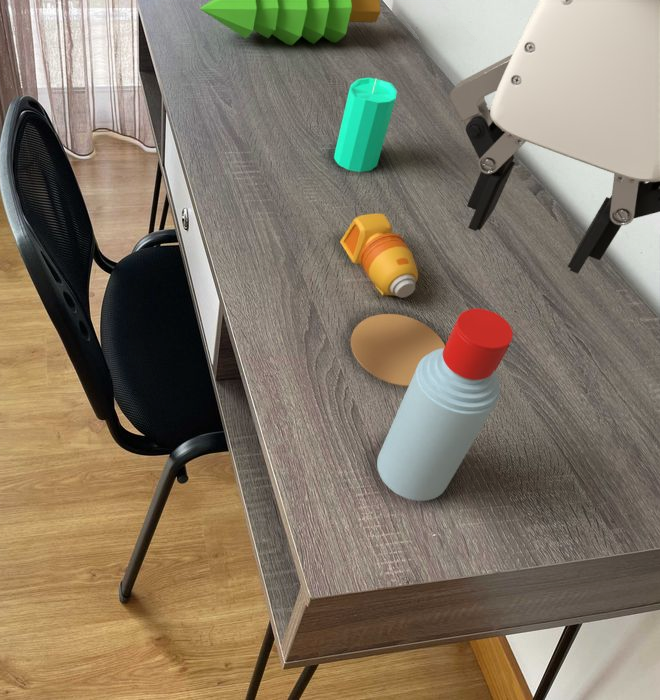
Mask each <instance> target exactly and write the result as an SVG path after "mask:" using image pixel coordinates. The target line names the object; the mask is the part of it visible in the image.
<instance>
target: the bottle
mask: <svg viewBox="0 0 660 700" xmlns="http://www.w3.org/2000/svg"><path fill="white" fill-rule="evenodd" d="M443 350H444V348H442V349H438V350H435V351H433V352H431V353H429V354H428V355H426V356H425V357H424V358H423V359H422V360H421V361H420V362H419V364H418V366H417V368H416V371H415V373H414V375H413V378H412V380H411V382H410V384H409V387H407V389H406V392H405V394H404V396H403V398H402V400H401V403H400V405H399V408H398V410H397V412H396V414H395V417H394V419H393V421H392V423H391V426H390V428H389V431H388V432H387V435H386V437H385V439H384V442H383V445H382V446H381V449H380V451H379V453H378V456H377V461H376V466H377V471H378V475H379V477H380V479H381V480H382V482H383V483H384V484H385V485H386V487H388V488H389V489H390V490H391V491H392V492H394V493H395V494H397V495H398V496H400V497H402V498H404V499H407V500H410V501H417V502H424V501H425V502H426V501H432V500H434V499H436V498H438V497H440V496H441V495H442V494H443V493H444V492H445V491H446V489H447V488H448V486H449V484H450V482H451V481H452V479H453V478H454V476H455V474H456V473H457V470H458V469H459V468H460V466H461V464H462V463H463V460H464V459H465V457H466V456H467V453H468V452H469V450H470V448H471V447H472V445H473V444H474V442H475V440H476V438H477V437H478V435H479V434H480V432H481V430H482V428H483V427H484V425H485V423H486V422H487V420H488V419H489V417H490V415H491V413H492V412H493V410H494V408H495V407H496V405H497V403H498V401H499V399H500V396H501V386H500V379H499V377H498V374H497V372H496V371H494V372H493V374H492V375H491V376H489V377H487V378H485V379H480V380H473V379H467V378H464V377H462V376H459V375H457V374H456V373H454V372H453V371H452V370H450V369H449V368H448V366H447V365H446V364H445V362H444V359H443Z"/></svg>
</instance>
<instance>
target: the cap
mask: <svg viewBox="0 0 660 700" xmlns="http://www.w3.org/2000/svg"><path fill="white" fill-rule="evenodd" d="M457 317H458V318H457V319H456V322H455V324H454V326H453V328H452V330H451V333H450V334H449V337H448V339H447V341H446V344H445V347H444V350H443V359H444V362H445V364H446V365H447V366H448V368H449V369H450V370H452V371H453V372H454V373H456V374H457V375H459V376H462V377H464V378H467V379H473V380H480V379H485V378H487V377H489V376H491V375H492V374H493V372H494V371H495V372H496V370H497V369H498V367H499V366H500V364H501V362H502V360H503V358H504V356H505V355H506V353H507V351H508V349H509V347H510V345H511V342H512V340H513V336H514V333H513V328H512V326H511V325H510V323H509V322H508V321H507V320H506V319H505V318H504V317H502V316H501V315H500V314H498V313H496V312H494V311H492V310H488V309H484V308H470V309H467V310H465V311H463V312H461V313H460V314H459V316H457Z"/></svg>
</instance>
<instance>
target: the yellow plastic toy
mask: <svg viewBox="0 0 660 700" xmlns="http://www.w3.org/2000/svg"><path fill="white" fill-rule="evenodd" d="M339 244H341V245H342V247H343V249H344V251H345V252H346V254H347V255H348V257H349V259H350V260H351V263H353V264H357V265H360V266H361V268H362V269H363V270H364V273H365V274H366V276H367V277H368V278H369V280H370V281H371V282H372V284H373V286H374V287H375V288H376V289H377V290H378V292H379V293H380V294H381V296H387V297H388V296H394V297H395V296H396V297H398V298H407V297H409V296H411V295H412V294H413V293H414V291H416V283H417V281H418V278H419V271H418V268H417V264H416V261H415V258H414V255H413V253H412V250H410V248H409V246H408V245H407V244H406V242H405V239H404V238H403V237H402V236H401V235H400V234H398V233H395V232H393V227H392V225H391V223H390V221H389V220H388V218H387V217H386V216H385V214H384V213H377V212H376V213H367V214H361V215H359V216H356V217H355V218H354V219H353V220H352V221H351V223H350V225H349V227H348V228H347V230H346V231H345V232H344V235H343V236H342V238H341V239H340V241H339Z"/></svg>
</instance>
